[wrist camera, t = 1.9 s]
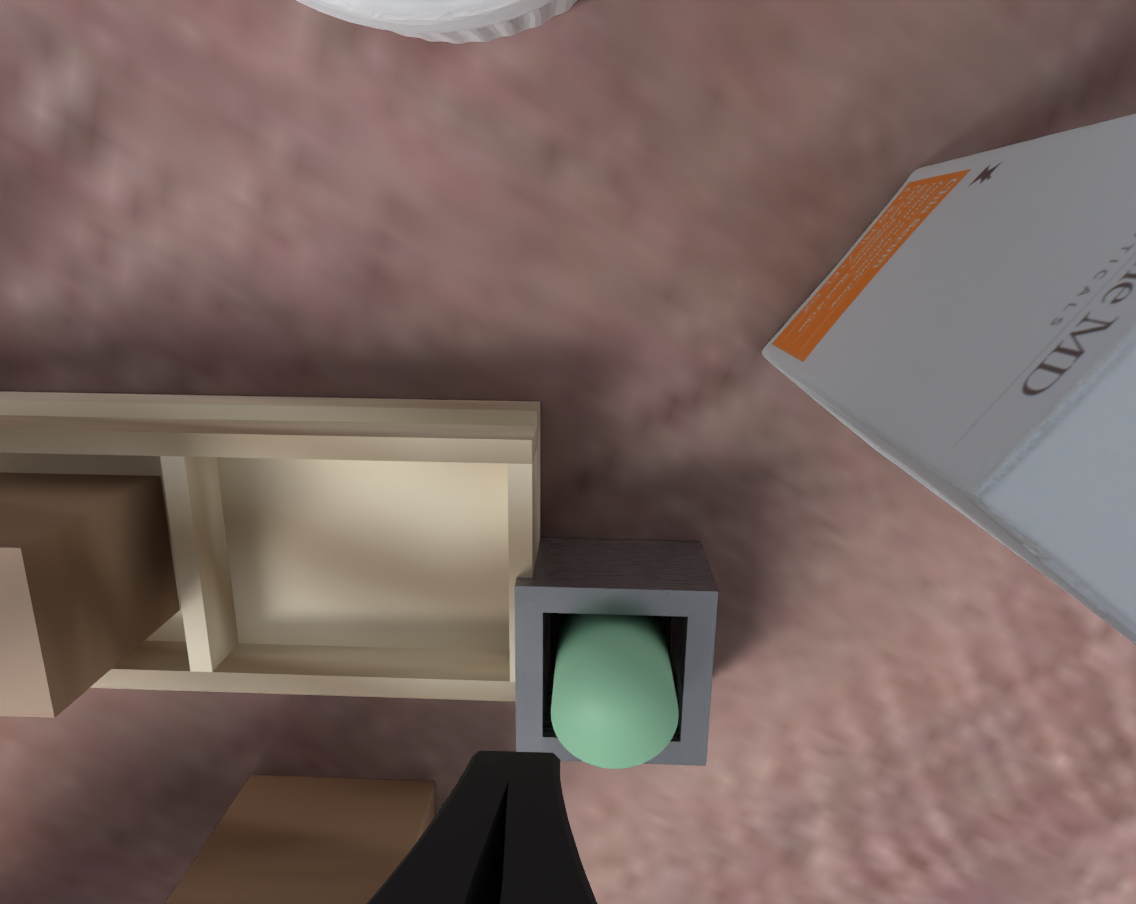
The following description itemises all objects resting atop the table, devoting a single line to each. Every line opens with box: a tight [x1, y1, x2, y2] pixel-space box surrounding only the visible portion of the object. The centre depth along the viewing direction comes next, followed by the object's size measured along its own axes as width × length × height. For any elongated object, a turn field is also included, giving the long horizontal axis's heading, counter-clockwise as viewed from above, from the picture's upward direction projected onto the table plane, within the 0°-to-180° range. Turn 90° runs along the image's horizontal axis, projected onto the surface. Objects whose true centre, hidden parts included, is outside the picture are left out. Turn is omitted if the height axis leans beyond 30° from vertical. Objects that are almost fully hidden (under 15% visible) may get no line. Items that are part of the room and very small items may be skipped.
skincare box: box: [762, 114, 1136, 645], centre depth 13 cm, size 6×4×12 cm
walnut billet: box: [165, 775, 436, 904], centre depth 22 cm, size 4×6×5 cm, turn 89°
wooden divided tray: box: [0, 392, 540, 702], centre depth 20 cm, size 8×18×3 cm, turn 89°
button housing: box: [514, 538, 718, 766], centre depth 20 cm, size 5×5×3 cm
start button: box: [551, 613, 679, 769], centre depth 19 cm, size 3×3×3 cm
